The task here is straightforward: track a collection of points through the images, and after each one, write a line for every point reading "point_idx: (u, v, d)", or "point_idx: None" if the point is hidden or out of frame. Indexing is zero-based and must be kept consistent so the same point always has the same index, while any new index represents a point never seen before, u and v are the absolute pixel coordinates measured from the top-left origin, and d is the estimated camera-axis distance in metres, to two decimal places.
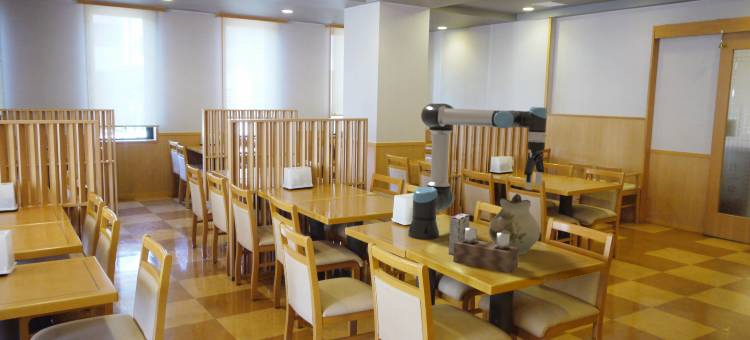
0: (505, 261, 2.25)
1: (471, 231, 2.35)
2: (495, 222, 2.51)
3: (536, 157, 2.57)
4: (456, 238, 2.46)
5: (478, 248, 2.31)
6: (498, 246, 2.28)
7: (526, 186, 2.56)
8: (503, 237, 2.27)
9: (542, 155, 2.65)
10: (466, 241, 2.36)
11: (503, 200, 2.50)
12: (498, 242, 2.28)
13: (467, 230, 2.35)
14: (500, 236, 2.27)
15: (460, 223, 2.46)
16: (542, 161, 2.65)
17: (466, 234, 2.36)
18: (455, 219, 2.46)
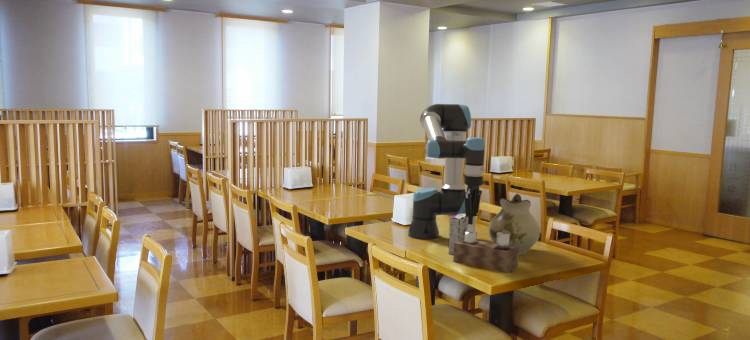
0: (505, 261, 2.25)
1: (471, 235, 2.35)
2: (495, 222, 2.51)
3: (474, 194, 2.33)
4: (456, 238, 2.46)
5: (478, 248, 2.31)
6: (498, 246, 2.28)
7: (468, 228, 2.37)
8: (503, 237, 2.27)
9: (480, 195, 2.39)
10: None
11: (503, 200, 2.50)
12: (498, 242, 2.28)
13: (467, 234, 2.35)
14: (500, 236, 2.27)
15: (460, 223, 2.46)
16: (478, 201, 2.38)
17: (466, 238, 2.36)
18: (455, 219, 2.46)
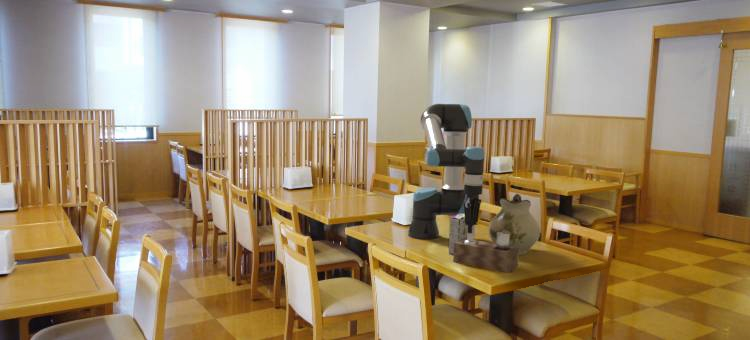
0: (505, 261, 2.25)
1: None
2: (495, 222, 2.51)
3: (473, 203, 2.33)
4: (456, 238, 2.46)
5: (478, 248, 2.31)
6: (498, 246, 2.28)
7: (468, 237, 2.37)
8: (503, 237, 2.27)
9: None
10: None
11: (503, 200, 2.50)
12: (498, 242, 2.28)
13: (467, 243, 2.36)
14: (500, 236, 2.27)
15: (460, 223, 2.46)
16: (478, 210, 2.39)
17: None
18: (455, 219, 2.46)
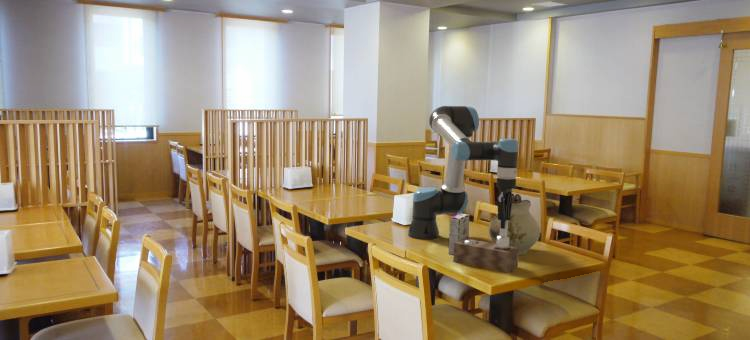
0: (505, 261, 2.25)
1: None
2: (495, 222, 2.51)
3: (506, 198, 2.25)
4: (456, 238, 2.46)
5: (478, 248, 2.31)
6: None
7: (500, 233, 2.29)
8: (502, 240, 2.27)
9: (512, 198, 2.31)
10: None
11: None
12: (498, 245, 2.29)
13: (467, 243, 2.36)
14: (500, 239, 2.28)
15: (460, 223, 2.46)
16: (511, 205, 2.30)
17: None
18: (455, 219, 2.46)
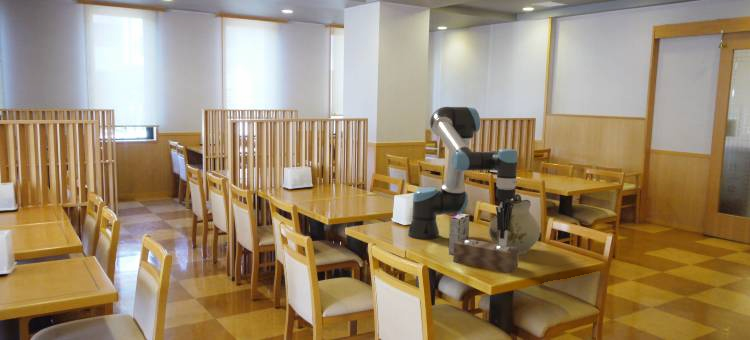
0: (505, 261, 2.25)
1: None
2: (495, 222, 2.51)
3: (506, 208, 2.26)
4: (456, 238, 2.46)
5: (478, 248, 2.31)
6: None
7: (500, 242, 2.30)
8: None
9: (512, 208, 2.32)
10: None
11: None
12: None
13: (467, 243, 2.36)
14: (499, 249, 2.28)
15: (460, 223, 2.46)
16: (510, 215, 2.31)
17: None
18: (455, 219, 2.46)
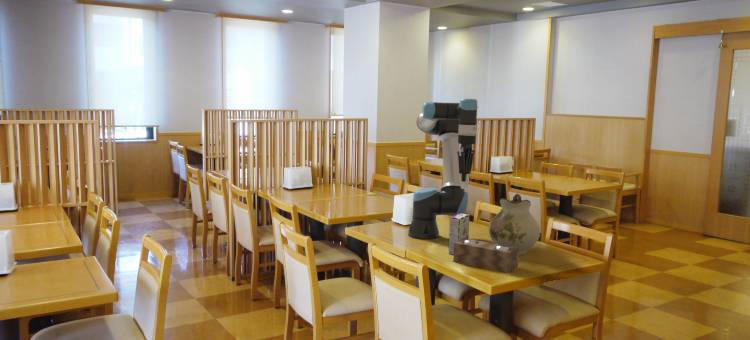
0: (505, 261, 2.25)
1: None
2: (495, 222, 2.51)
3: (467, 153, 2.45)
4: (456, 238, 2.46)
5: (478, 248, 2.31)
6: None
7: (461, 185, 2.49)
8: None
9: (473, 154, 2.51)
10: None
11: (503, 200, 2.50)
12: None
13: (467, 243, 2.36)
14: (499, 249, 2.28)
15: (460, 223, 2.46)
16: (471, 160, 2.50)
17: None
18: (455, 219, 2.46)
